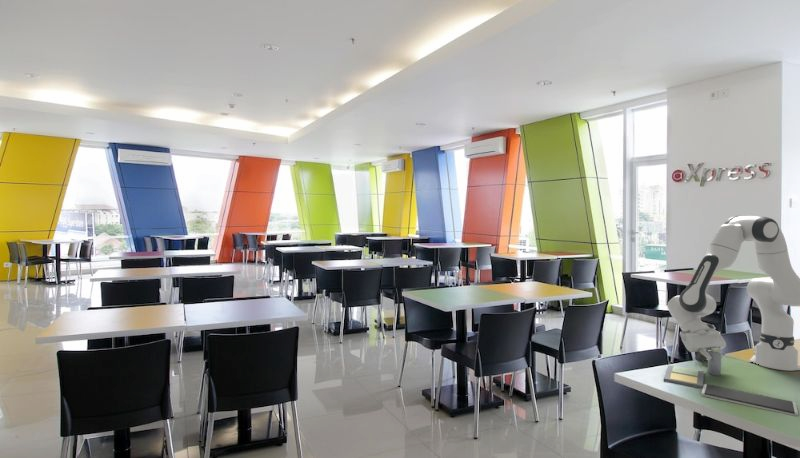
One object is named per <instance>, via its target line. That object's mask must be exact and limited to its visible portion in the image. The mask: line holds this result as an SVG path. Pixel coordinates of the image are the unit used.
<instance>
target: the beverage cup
mask: <svg viewBox="0 0 800 458" xmlns="http://www.w3.org/2000/svg"><path fill="white" fill-rule="evenodd" d="M700 319H701V320H702V317H701V318H700ZM708 351H709V350H708ZM708 351H706V352H708ZM694 359H696V360H698V361H701V360H707V361H708V359H707V358H706V357H705V356H704V355H702V354H701V353H700V352H699V351H698V352H694Z"/></svg>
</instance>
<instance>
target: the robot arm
mask: <svg viewBox="0 0 800 458" xmlns="http://www.w3.org/2000/svg"><path fill="white" fill-rule="evenodd" d="M782 231H783V230H781V228H780V227H779V225H778V222H777V221H776V220H775V219H773V218H771V217H767V216H759V215H741V216H740V215H734V216H731V217H729V218H727V219H726V221H725V222H724V224H721V225H720V226H719V227H718V228H717V230H716V231H715V233H714V234H713V236H712V239H710V242H709V245H708V247H707V250H706V252H705V255H703V258H702V260H701V261H700V263H699V265H698V267H697V268H696V271H695V273H694V275H693V277H692V278H691V280H690V282H689V284H688V285H687V287H686V288H685V289H683V290H682V292H681V293H680V295H676V296H673V297H672V298H670V299H668V300H669V301H668V302H667V306H666V307H667V310H668V311H669V314H670V315H671V317H672V318H673V320H674V321H675V322H676V323H677V324H678V325H679V328H680V329H681V331H680V332H679V337H680V338H681V342H682V343H683V345H684V347H685V348H686V350H687V351H688V352H689V353H695V352H698V351H699V352H700V353H701V354H702V355H704V356H705V357H706V358H707V361H708V360H712V359H713V357H712V355H711V354H709V353H708V352H706V351H711V348H718V349H719V352H720V353H722V351H721V350H722V349H725V348H726V347H727V342H726V341H725V339H724V338H723V336H722V335H721V333H719V332H718V331H717V330H716V329H717V328H716V327H715V325H714V324H710V323H707V322H705V321H702V318H704V317H706V316H709V315H711V314H713V313H715V312H716V309H717V301H716V299H715V298H714V297H713V296H712V295H709V294H708V293H707V289H708V287H709V285H710V282H711V281H712V279H713V277H714V275H715V274H716V273H717V272H718V271H721V270H723V269H724V270H725V269H728V268H730V267H731V266H733V264H734V262H735V261H736V259H737V258H738V255H739V252H740V251H741V247H742V243H744V242H745V241H746V242H754V247H755V254H756V259H757V263H758V268H759V269H760V270H761V271H762V272H763V273H765V274H766V275H768V276H769V277H755V278H751V279H750V280H749V282H748V283H747V286H746V292H747V295H748V296H749V297H750V298H751V299H753V301H754V302H755V303H756V305H757V307H758V310H759V312H760V316H761V332H760V334H759V342H757V343H756V344H755V345H754V346H753V352H754V353H753V355H752V357H750V359H749V361H750V362H749V361H748V362H749V363H751V362H753V363H752V364H755V363H756V365H758V364H759V365H758V366H760V367H764V368H769V369H773V370H779V371H791V372H792V371H800V365H799V350H798V349H796V347H795V346H794V345H795V337H794V325H795V324H794V323H795V322H794V318H793V317H792V316H791V315H789V314H788V312H786V311H785V310H784V307H783V305H784V306H789V307H800V276H799V275H798V274H797V273H796V272H795V270H794V268H793V267H792V264H791V261H790V255H789V249H788V245H787V242H786V238H785V236H784V234H783V232H782ZM700 318H701V319H700ZM723 358H724V355H723V354H721V360H722V359H723Z"/></svg>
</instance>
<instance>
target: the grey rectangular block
mask: <svg viewBox="0 0 800 458" xmlns="http://www.w3.org/2000/svg"><path fill="white" fill-rule="evenodd" d="M708 353H709V354H711V355H712V357H713V359H712V360H708V359H707V374H708V375H711V376H721V374H722V359H721V354H722V352H721V353H720V352H719V349H718V348H711V350H708ZM722 355H723V354H722Z"/></svg>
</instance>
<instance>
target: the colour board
mask: <svg viewBox="0 0 800 458" xmlns="http://www.w3.org/2000/svg"><path fill="white" fill-rule="evenodd" d="M704 377H705V371H704V370H698V369H691V368H688V367H681V366H674V365H670V364H668V365H667V367H666V371H665V374H664V377H663V381H664V382H666V381H669V382H668V383H672V382H673V384H679V385H683V386H688V387H694V388H698V387H699V388H698V389H703V387H704Z"/></svg>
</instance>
